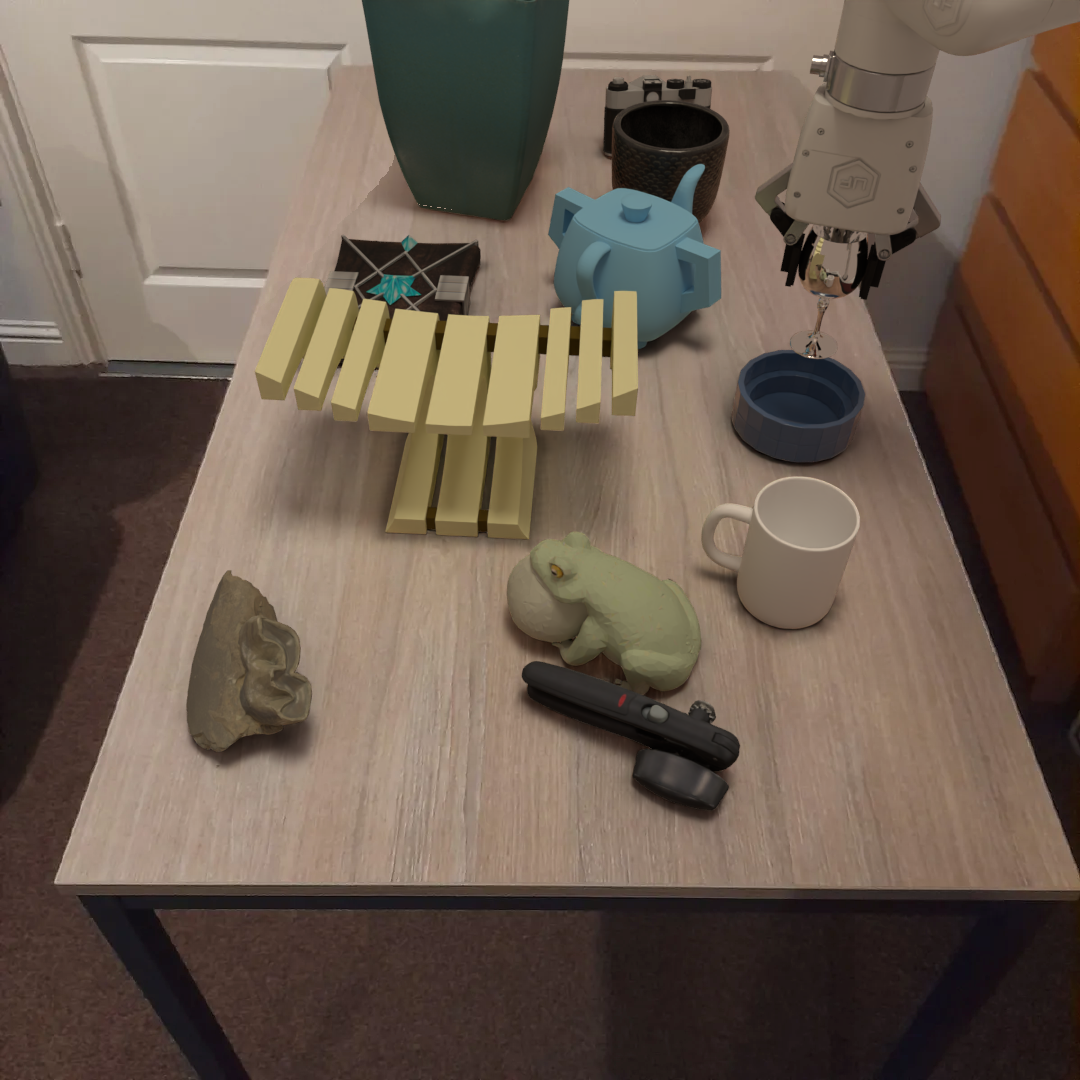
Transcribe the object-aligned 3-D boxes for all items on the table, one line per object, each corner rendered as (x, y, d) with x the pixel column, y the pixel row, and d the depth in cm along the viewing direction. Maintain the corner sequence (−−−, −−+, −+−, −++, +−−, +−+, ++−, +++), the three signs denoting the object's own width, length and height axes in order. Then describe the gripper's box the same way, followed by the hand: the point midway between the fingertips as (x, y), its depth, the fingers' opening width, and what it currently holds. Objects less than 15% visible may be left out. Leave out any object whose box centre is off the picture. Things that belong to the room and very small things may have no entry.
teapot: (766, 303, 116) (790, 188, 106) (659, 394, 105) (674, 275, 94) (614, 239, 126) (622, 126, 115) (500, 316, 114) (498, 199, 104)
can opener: (748, 757, 76) (761, 717, 71) (709, 830, 72) (720, 791, 67) (548, 656, 82) (549, 613, 78) (501, 718, 78) (500, 676, 74)
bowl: (858, 401, 104) (870, 362, 101) (846, 478, 97) (859, 439, 93) (741, 378, 107) (749, 340, 103) (721, 452, 99) (728, 413, 95)
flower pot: (569, 168, 138) (577, -61, 118) (533, 242, 125) (534, -1, 104) (432, 150, 141) (415, -76, 121) (382, 221, 128) (354, -19, 108)
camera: (694, 135, 148) (700, 62, 142) (710, 156, 139) (717, 78, 133) (596, 138, 147) (598, 64, 141) (605, 159, 139) (608, 81, 133)
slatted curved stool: (622, 428, 101) (636, 274, 88) (622, 543, 90) (637, 388, 77) (328, 414, 102) (299, 260, 89) (293, 527, 91) (254, 371, 78)
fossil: (344, 715, 81) (322, 709, 71) (222, 772, 79) (182, 774, 70) (277, 558, 83) (247, 531, 73) (158, 611, 82) (111, 591, 72)
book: (460, 376, 107) (457, 337, 103) (303, 368, 107) (295, 330, 104) (481, 265, 121) (480, 228, 118) (343, 259, 122) (338, 222, 118)
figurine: (534, 565, 89) (534, 484, 81) (713, 626, 84) (730, 546, 77) (483, 650, 82) (479, 570, 75) (673, 720, 78) (689, 643, 70)
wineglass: (770, 343, 95) (792, 227, 86) (809, 320, 97) (834, 205, 89) (818, 371, 92) (845, 254, 83) (857, 346, 94) (888, 231, 86)
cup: (824, 643, 83) (852, 562, 76) (683, 604, 86) (697, 522, 78) (838, 572, 88) (866, 490, 81) (705, 538, 91) (721, 455, 84)
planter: (737, 223, 129) (753, 124, 119) (669, 265, 122) (681, 164, 112) (652, 185, 135) (662, 89, 126) (584, 223, 128) (588, 124, 119)
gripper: (758, 84, 76) (724, 290, 89) (996, 116, 72) (924, 325, 85) (772, 46, 80) (738, 247, 94) (996, 75, 77) (928, 279, 90)
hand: (827, 283), depth 89 cm, fingers closed on wineglass, 5 cm apart
